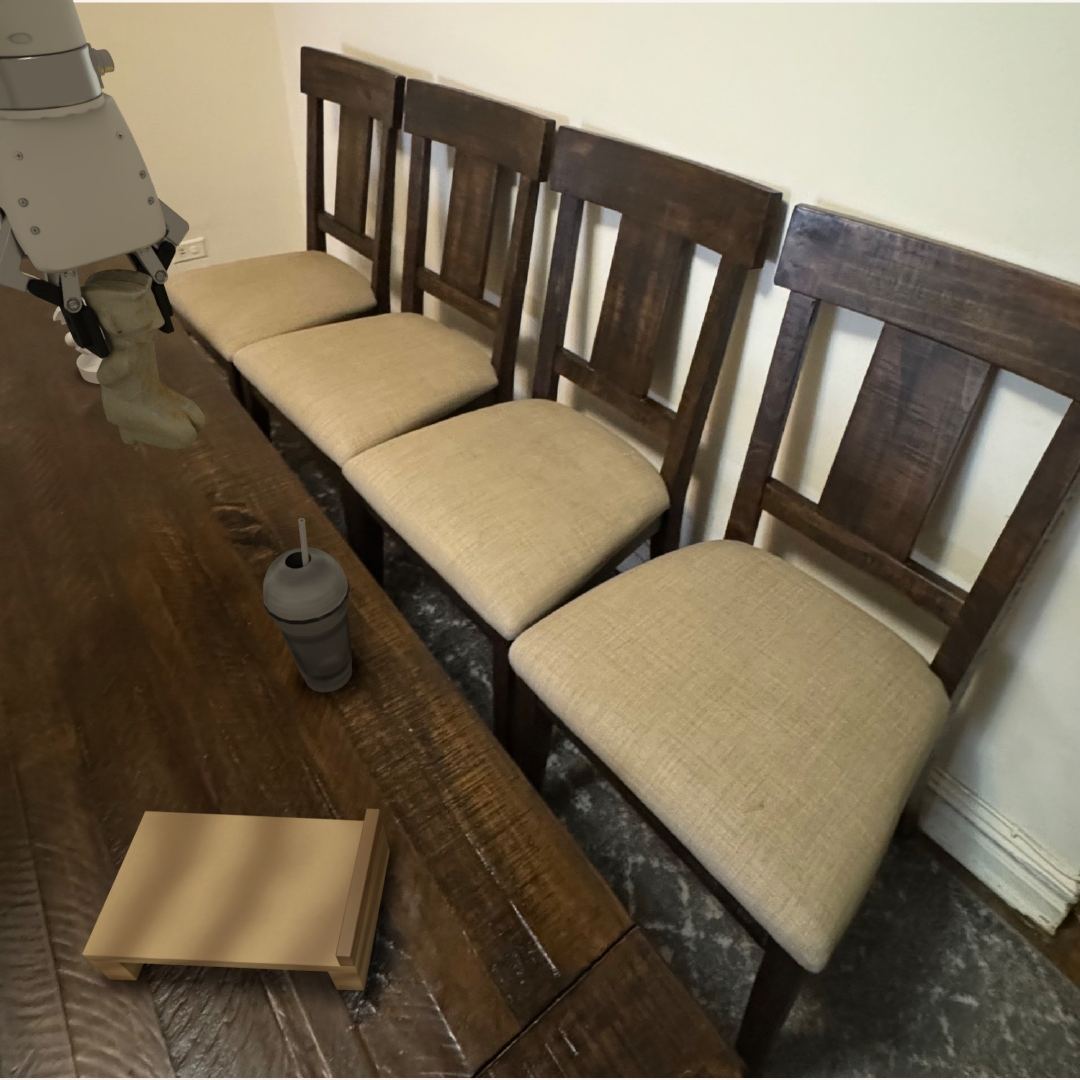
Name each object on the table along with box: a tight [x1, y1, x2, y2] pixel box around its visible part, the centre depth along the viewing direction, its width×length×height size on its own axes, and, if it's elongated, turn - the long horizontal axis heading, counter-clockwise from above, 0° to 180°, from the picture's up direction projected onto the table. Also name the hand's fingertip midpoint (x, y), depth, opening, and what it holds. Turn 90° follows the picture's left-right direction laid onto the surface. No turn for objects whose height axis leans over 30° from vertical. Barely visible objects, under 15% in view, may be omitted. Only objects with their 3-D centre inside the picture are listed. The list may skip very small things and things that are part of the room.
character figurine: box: [52, 297, 105, 385], centre depth 107 cm, size 9×10×12 cm
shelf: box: [81, 808, 390, 992], centre depth 53 cm, size 18×10×7 cm, turn 88°
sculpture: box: [80, 268, 206, 450], centre depth 61 cm, size 6×7×15 cm
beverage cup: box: [262, 517, 353, 693], centre depth 65 cm, size 7×7×20 cm
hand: (129, 337), depth 60 cm, fingers closed on sculpture, 4 cm apart
